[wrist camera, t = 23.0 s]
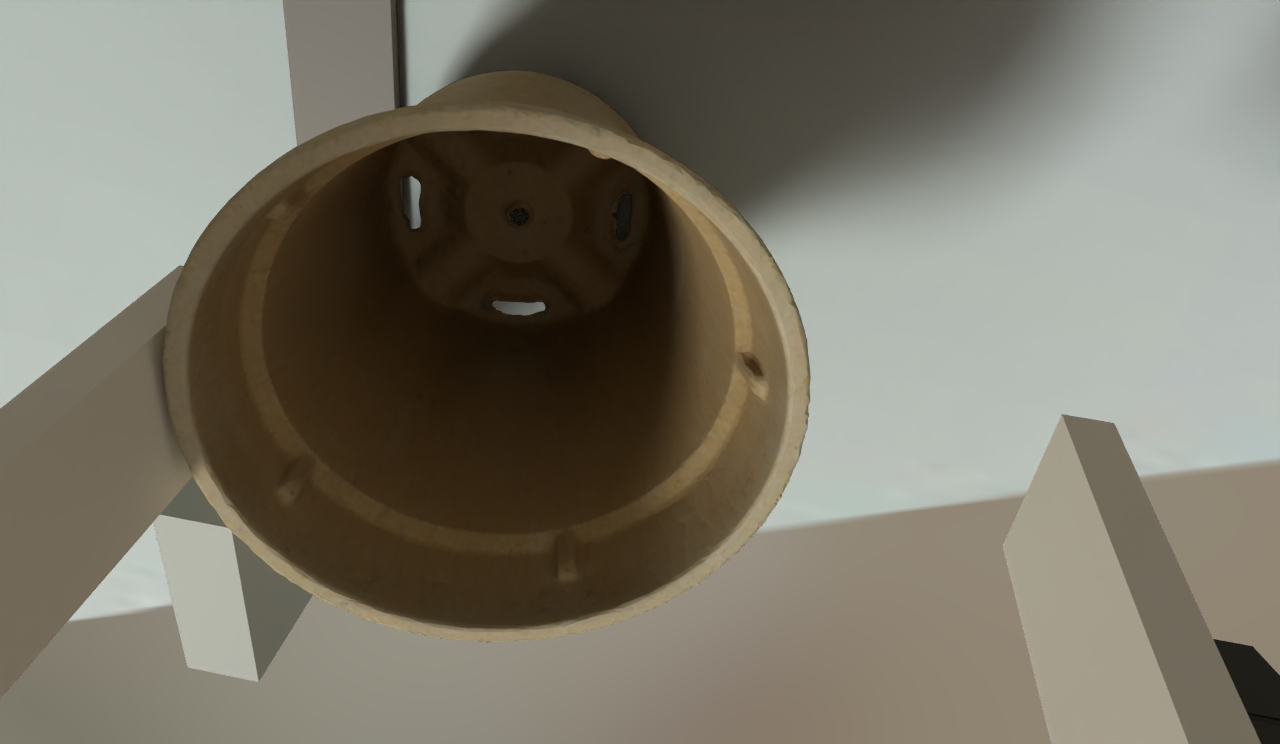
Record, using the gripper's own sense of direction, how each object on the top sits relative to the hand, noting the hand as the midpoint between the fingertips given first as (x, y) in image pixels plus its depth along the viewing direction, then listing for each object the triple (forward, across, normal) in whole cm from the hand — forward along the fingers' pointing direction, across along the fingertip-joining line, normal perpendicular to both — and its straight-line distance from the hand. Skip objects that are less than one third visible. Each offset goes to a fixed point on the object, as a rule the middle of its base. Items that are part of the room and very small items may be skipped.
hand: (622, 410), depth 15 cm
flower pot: (+7, -4, 0) cm, 8 cm away
